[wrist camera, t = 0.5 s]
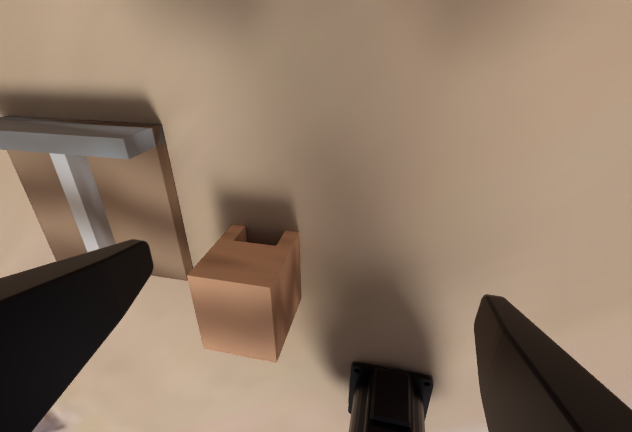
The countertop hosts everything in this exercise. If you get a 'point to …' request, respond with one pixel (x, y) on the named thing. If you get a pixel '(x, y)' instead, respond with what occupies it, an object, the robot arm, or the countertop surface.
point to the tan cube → (247, 294)
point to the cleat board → (99, 186)
